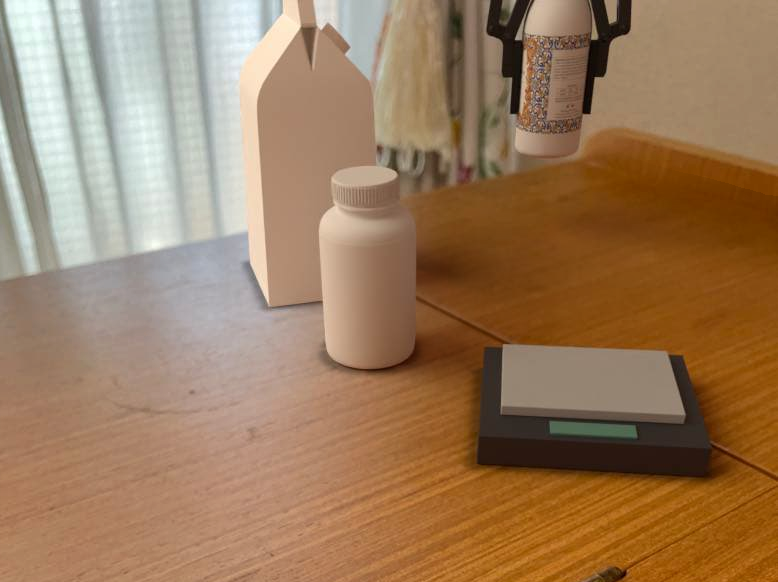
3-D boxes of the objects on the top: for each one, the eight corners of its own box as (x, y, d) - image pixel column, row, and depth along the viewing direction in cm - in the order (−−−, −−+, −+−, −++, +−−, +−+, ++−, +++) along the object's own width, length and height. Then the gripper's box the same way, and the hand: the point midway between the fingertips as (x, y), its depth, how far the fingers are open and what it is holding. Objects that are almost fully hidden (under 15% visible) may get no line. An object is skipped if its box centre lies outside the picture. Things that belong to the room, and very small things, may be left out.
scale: (676, 381, 72) (685, 345, 70) (705, 477, 61) (715, 438, 59) (482, 372, 74) (485, 337, 72) (476, 463, 63) (479, 425, 61)
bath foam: (513, 142, 98) (527, -73, 86) (575, 142, 98) (599, -75, 85) (515, 159, 93) (531, -68, 81) (581, 159, 92) (607, -70, 80)
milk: (250, 263, 94) (219, -23, 77) (353, 251, 96) (344, -29, 80) (269, 307, 85) (239, -6, 68) (383, 293, 87) (380, -14, 71)
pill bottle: (307, 357, 76) (294, 180, 67) (358, 324, 81) (354, 154, 72) (382, 380, 73) (380, 196, 63) (431, 344, 78) (436, 168, 68)
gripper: (463, -162, 77) (454, 119, 91) (695, -170, 75) (649, 120, 89) (466, -161, 83) (458, 103, 97) (682, -169, 80) (641, 103, 95)
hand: (549, 110), depth 93 cm, fingers closed on bath foam, 7 cm apart
